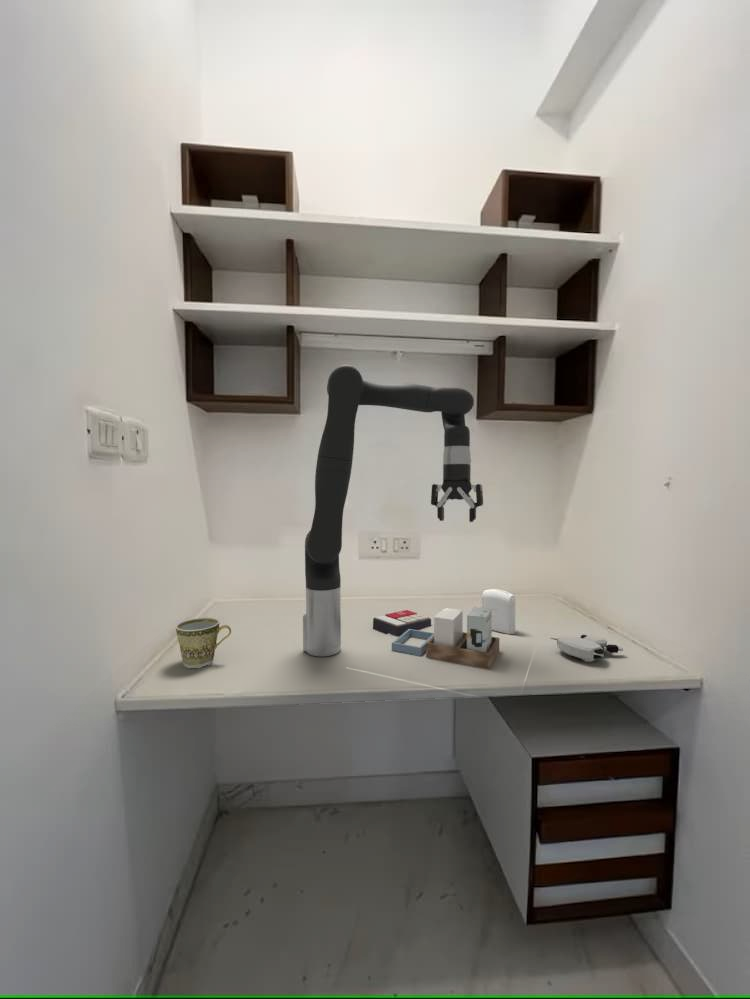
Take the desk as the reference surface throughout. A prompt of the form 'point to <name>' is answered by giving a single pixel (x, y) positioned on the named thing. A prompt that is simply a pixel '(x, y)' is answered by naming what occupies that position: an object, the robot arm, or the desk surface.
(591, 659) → the robot toy
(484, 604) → the photo printer
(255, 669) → the desk surface
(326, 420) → the robot arm
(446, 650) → the brown divided wooden organizer
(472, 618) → the ink box
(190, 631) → the ceramic cup
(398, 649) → the tray
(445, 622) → the white box
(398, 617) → the calculator
